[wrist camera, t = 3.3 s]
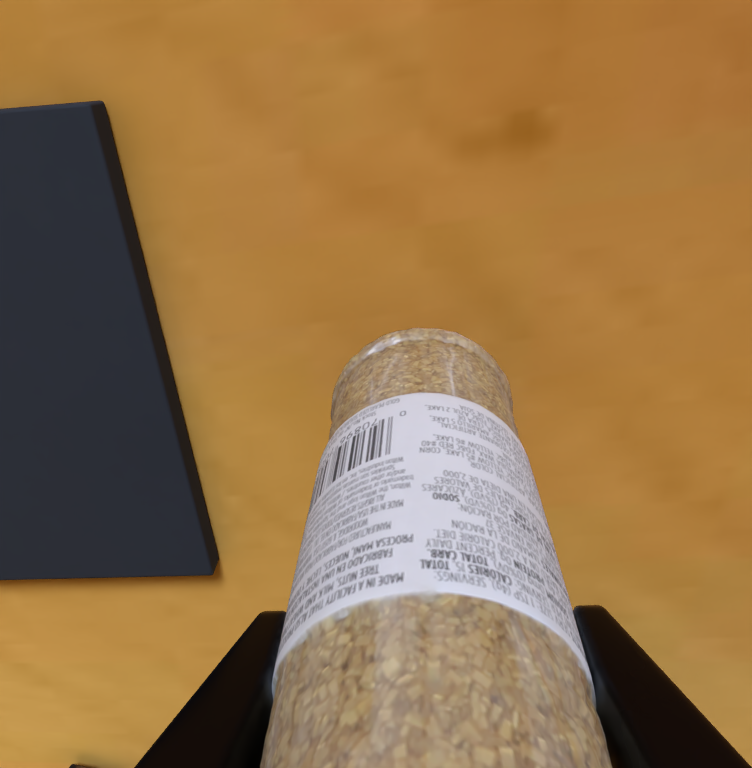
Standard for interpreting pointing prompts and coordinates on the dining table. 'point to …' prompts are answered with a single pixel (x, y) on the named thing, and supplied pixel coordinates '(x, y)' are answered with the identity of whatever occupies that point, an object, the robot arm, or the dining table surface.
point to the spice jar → (429, 583)
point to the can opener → (77, 766)
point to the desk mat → (85, 369)
